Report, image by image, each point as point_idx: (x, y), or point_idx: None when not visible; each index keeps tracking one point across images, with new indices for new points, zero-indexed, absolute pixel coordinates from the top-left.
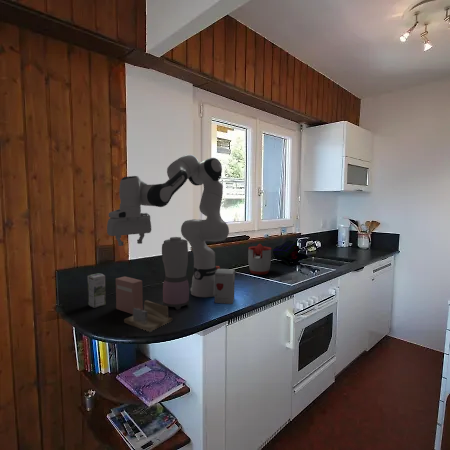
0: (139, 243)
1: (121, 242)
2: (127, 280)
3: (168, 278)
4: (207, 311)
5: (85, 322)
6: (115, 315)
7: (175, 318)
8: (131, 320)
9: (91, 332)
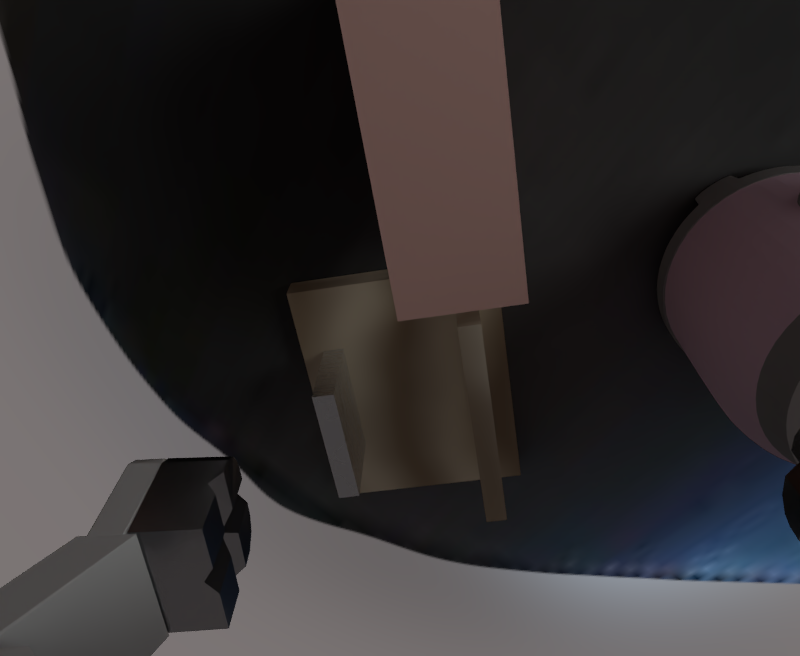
0: (789, 510)
1: (165, 615)
2: (407, 181)
3: (780, 410)
4: (776, 491)
5: (66, 82)
6: (294, 118)
7: (563, 441)
8: (313, 345)
9: (73, 270)
